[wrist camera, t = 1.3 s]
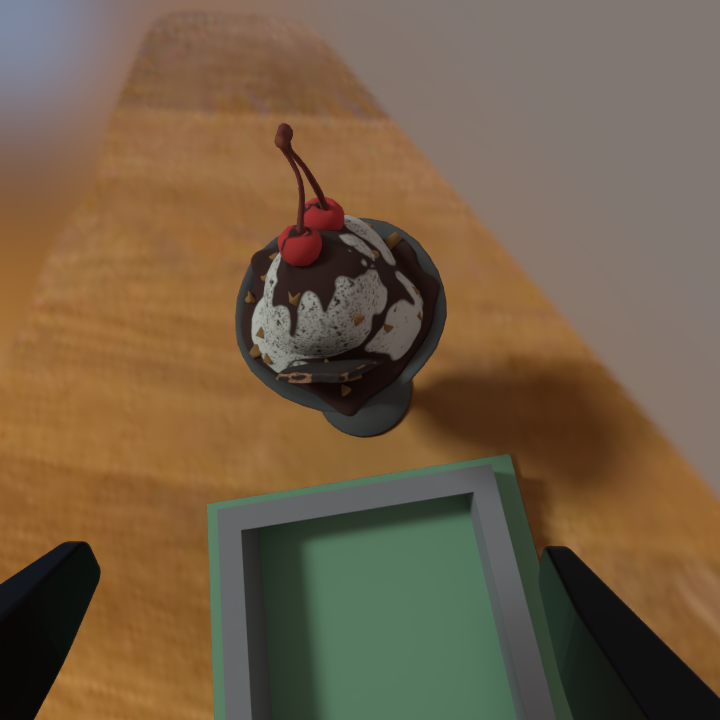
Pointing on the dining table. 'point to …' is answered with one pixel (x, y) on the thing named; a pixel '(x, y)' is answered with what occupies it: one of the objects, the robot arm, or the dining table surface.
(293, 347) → the sundae
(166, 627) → the dining table surface
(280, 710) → the rimmed mat
